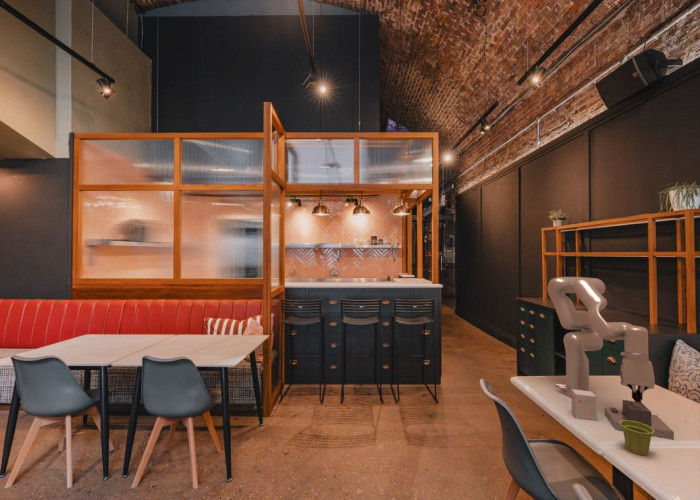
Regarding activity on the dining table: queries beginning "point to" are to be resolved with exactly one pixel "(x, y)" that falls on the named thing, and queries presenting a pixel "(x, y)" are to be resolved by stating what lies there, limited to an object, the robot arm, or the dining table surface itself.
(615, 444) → the dining table surface
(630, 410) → the plug
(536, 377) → the dining table surface
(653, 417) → the socket
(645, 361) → the robot arm
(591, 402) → the small box
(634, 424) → the plant pot
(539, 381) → the dining table surface
